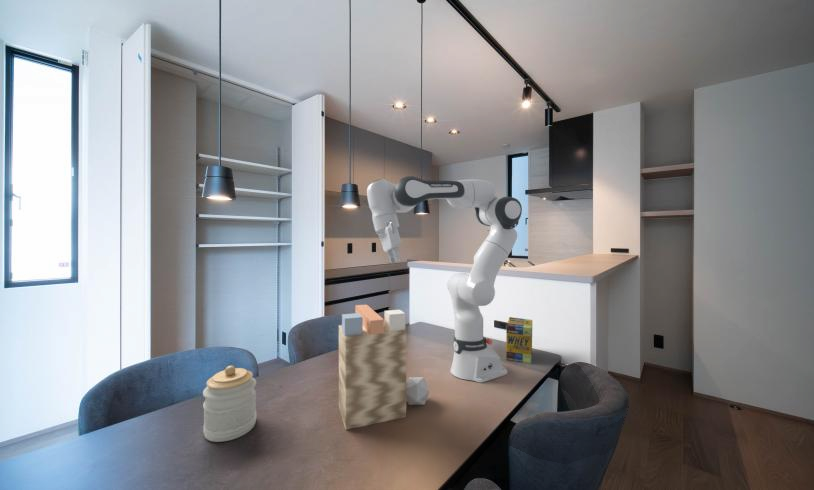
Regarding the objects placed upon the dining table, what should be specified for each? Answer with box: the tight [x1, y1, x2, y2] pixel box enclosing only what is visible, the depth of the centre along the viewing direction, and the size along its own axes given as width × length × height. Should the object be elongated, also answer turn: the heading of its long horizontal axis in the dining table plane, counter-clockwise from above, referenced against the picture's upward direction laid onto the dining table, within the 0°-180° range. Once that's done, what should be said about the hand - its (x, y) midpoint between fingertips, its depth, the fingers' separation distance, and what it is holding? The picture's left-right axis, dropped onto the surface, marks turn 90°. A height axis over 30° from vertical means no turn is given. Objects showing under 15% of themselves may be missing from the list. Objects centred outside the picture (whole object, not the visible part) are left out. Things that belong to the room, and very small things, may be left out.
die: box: [406, 376, 430, 406], centre depth 102 cm, size 8×9×10 cm
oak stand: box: [338, 324, 407, 431], centre depth 96 cm, size 18×12×26 cm
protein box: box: [505, 316, 533, 365], centre depth 142 cm, size 10×15×16 cm
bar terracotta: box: [354, 304, 384, 335], centre depth 100 cm, size 4×21×4 cm, turn 21°
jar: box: [202, 365, 257, 443], centre depth 88 cm, size 13×13×18 cm
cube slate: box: [341, 313, 363, 336], centre depth 91 cm, size 5×5×5 cm
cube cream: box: [383, 309, 406, 332], centre depth 96 cm, size 5×5×5 cm
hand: (395, 262), depth 112 cm, fingers open, 8 cm apart
